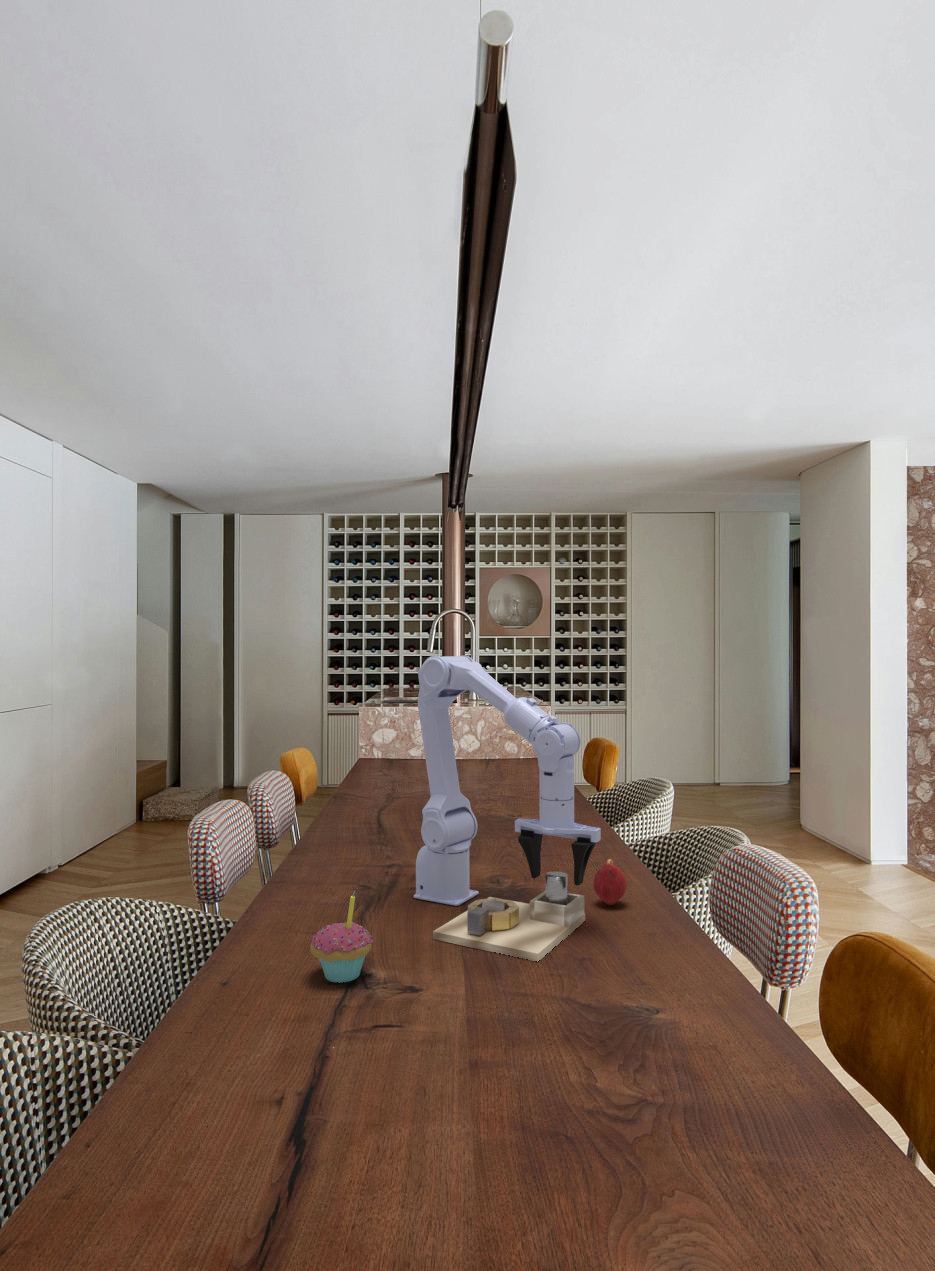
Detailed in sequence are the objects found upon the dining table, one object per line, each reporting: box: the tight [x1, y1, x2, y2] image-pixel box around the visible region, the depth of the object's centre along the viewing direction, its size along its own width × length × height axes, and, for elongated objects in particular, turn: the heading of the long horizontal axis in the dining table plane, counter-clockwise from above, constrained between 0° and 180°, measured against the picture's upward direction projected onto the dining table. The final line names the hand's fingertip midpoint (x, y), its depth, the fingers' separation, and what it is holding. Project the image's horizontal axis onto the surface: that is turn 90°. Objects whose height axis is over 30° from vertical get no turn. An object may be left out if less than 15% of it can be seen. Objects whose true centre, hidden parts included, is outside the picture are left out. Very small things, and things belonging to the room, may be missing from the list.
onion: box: [592, 858, 627, 906], centre depth 135 cm, size 6×6×8 cm
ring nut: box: [467, 897, 519, 936], centre depth 123 cm, size 8×10×3 cm
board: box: [432, 889, 586, 963], centre depth 124 cm, size 18×19×4 cm
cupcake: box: [309, 890, 374, 984], centre depth 107 cm, size 9×8×12 cm
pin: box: [545, 870, 569, 906], centre depth 126 cm, size 4×4×7 cm
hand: (556, 880), depth 126 cm, fingers open, 7 cm apart
